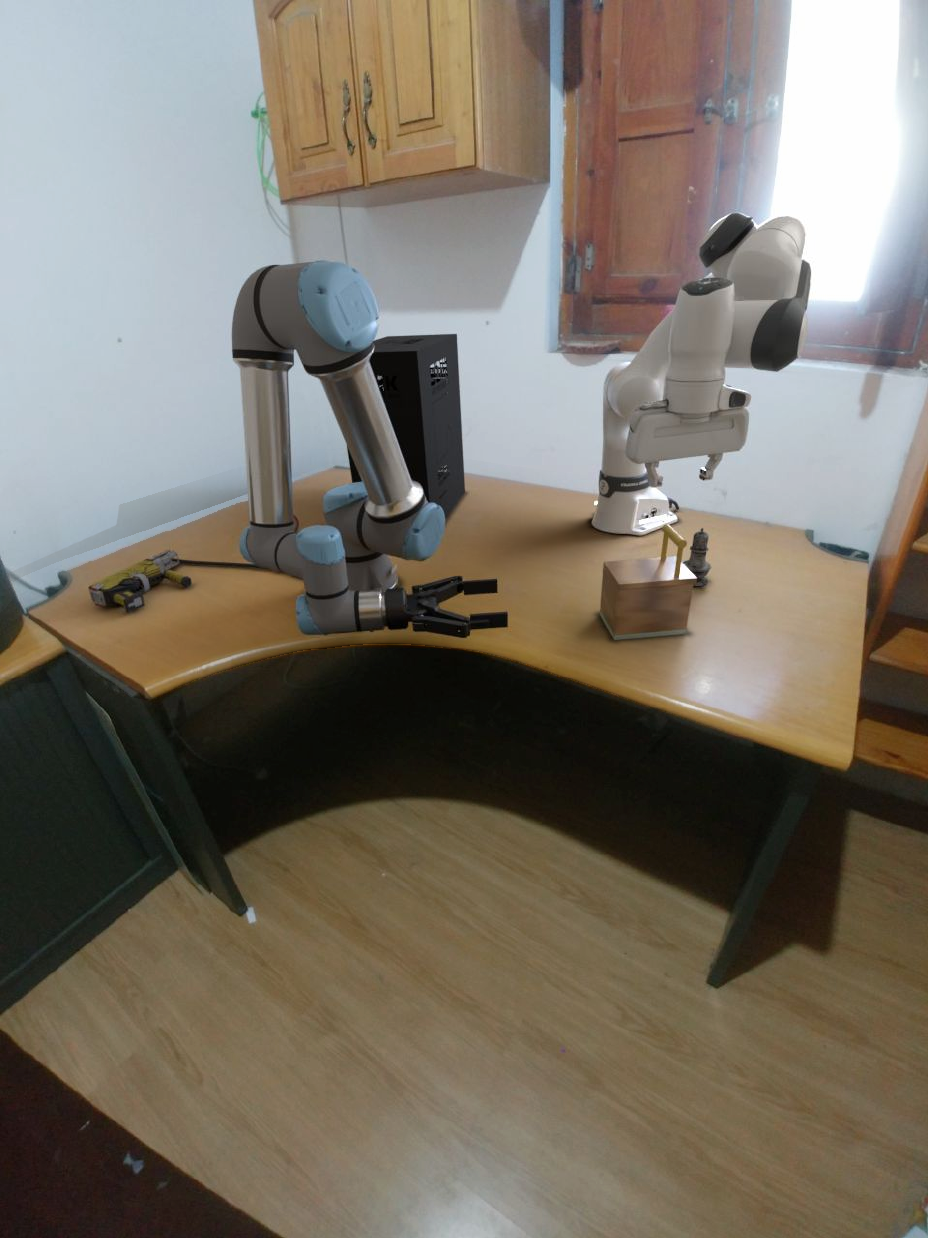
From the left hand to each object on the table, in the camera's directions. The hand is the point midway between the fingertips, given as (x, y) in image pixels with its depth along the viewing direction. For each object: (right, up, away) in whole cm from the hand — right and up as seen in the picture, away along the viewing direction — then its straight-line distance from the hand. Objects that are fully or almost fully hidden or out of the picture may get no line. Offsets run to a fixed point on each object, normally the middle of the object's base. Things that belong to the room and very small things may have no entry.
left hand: (502, 601), depth 110 cm
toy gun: (-78, +4, +30) cm, 84 cm away
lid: (+27, +5, 0) cm, 27 cm away
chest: (+27, -4, +5) cm, 28 cm away
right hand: (+30, +20, -8) cm, 37 cm away
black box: (-21, +28, +65) cm, 74 cm away
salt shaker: (+42, +5, +19) cm, 47 cm away
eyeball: (-55, +20, +55) cm, 80 cm away
